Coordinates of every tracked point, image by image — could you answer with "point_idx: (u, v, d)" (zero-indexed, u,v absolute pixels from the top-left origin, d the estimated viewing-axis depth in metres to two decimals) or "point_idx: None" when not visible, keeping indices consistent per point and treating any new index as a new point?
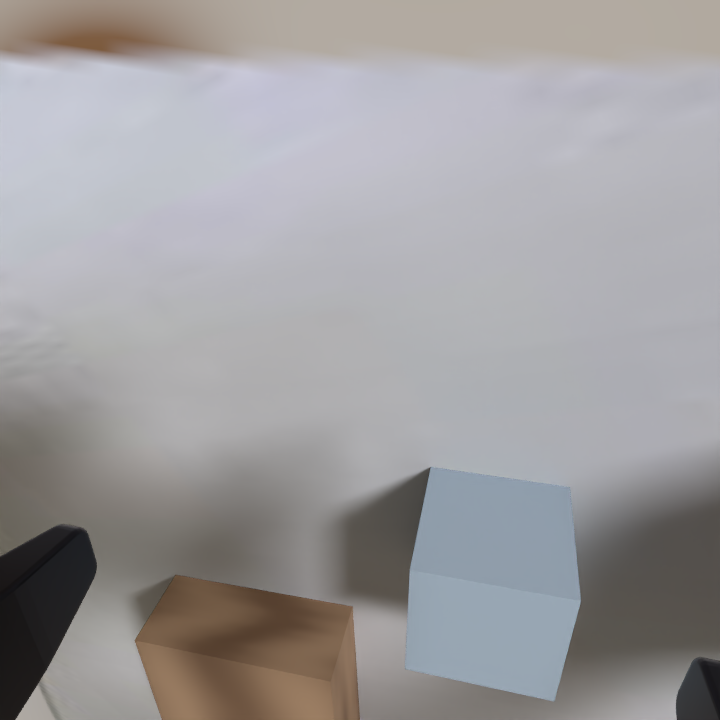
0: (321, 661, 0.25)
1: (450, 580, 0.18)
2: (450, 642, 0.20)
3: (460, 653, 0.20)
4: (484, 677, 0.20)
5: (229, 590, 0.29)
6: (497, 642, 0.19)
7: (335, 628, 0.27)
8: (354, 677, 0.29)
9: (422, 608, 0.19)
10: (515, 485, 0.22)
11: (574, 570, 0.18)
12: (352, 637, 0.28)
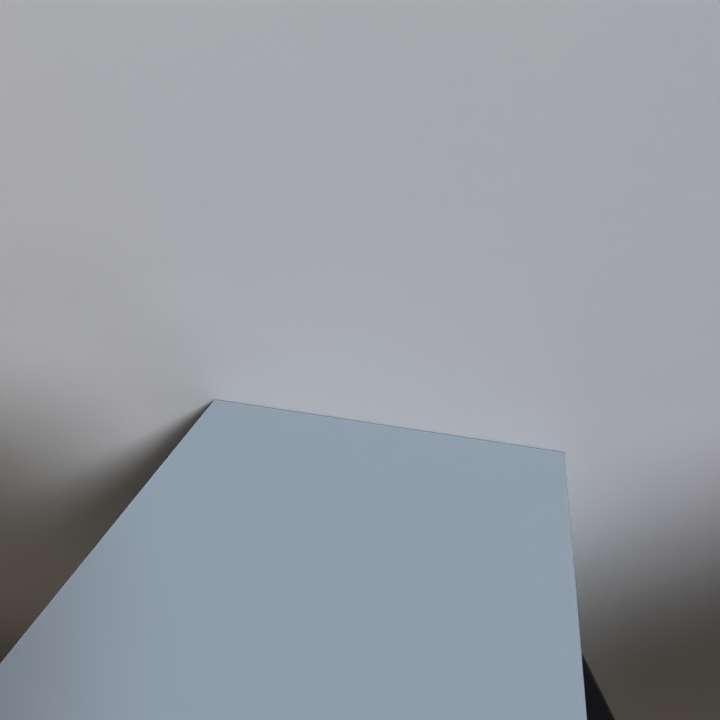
0: None
1: None
2: None
3: None
4: None
5: None
6: None
7: None
8: None
9: None
10: (416, 448, 0.08)
11: None
12: None
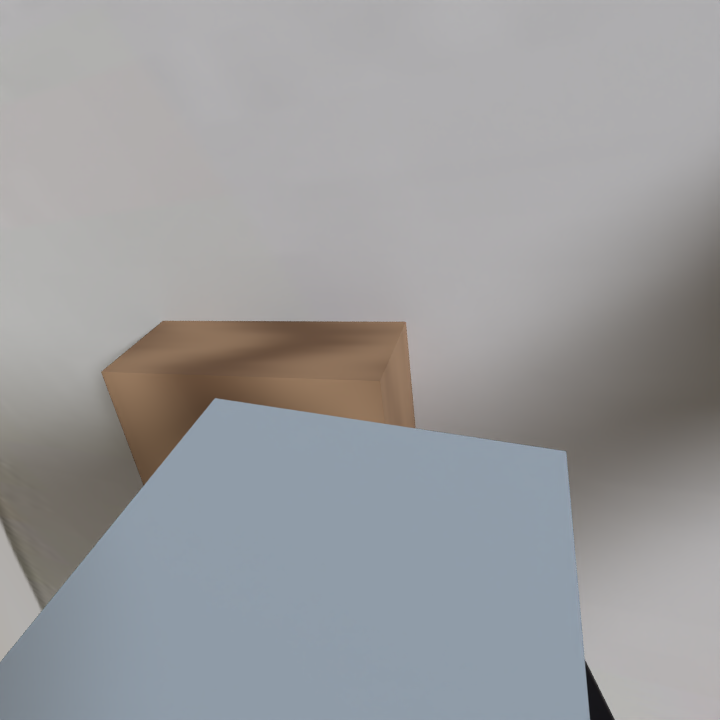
0: (365, 366, 0.17)
1: None
2: None
3: None
4: None
5: (233, 325, 0.21)
6: None
7: (383, 339, 0.18)
8: None
9: None
10: (417, 447, 0.08)
11: None
12: (408, 373, 0.20)
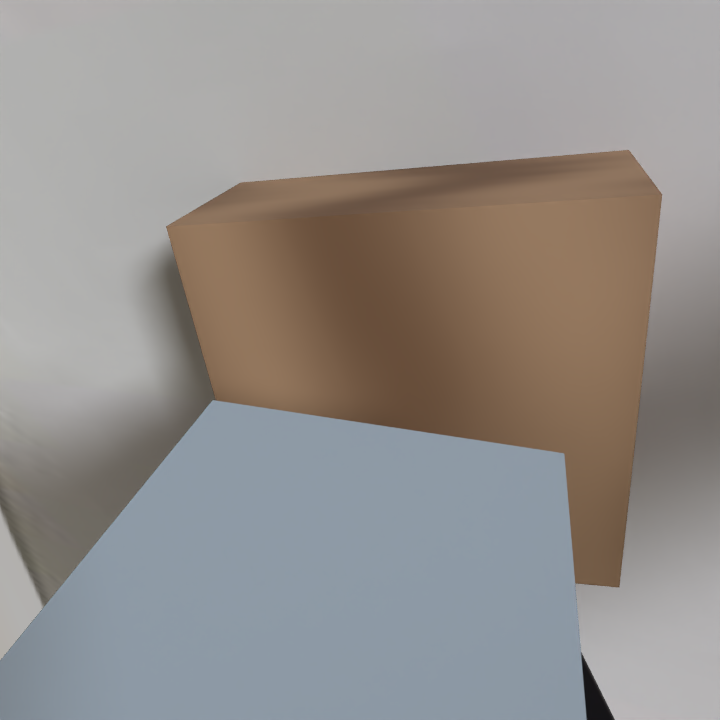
0: (614, 185, 0.10)
1: None
2: None
3: None
4: None
5: (353, 176, 0.14)
6: None
7: (612, 164, 0.12)
8: None
9: None
10: (415, 449, 0.08)
11: None
12: None
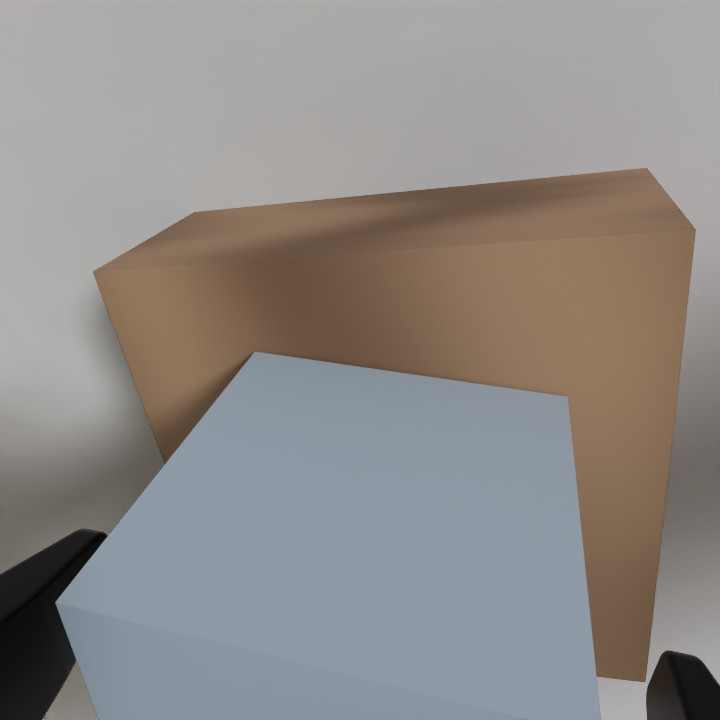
0: (632, 216, 0.08)
1: (175, 640, 0.06)
2: None
3: None
4: None
5: (321, 203, 0.12)
6: None
7: (627, 186, 0.10)
8: None
9: (128, 709, 0.06)
10: (437, 392, 0.09)
11: (579, 616, 0.06)
12: None
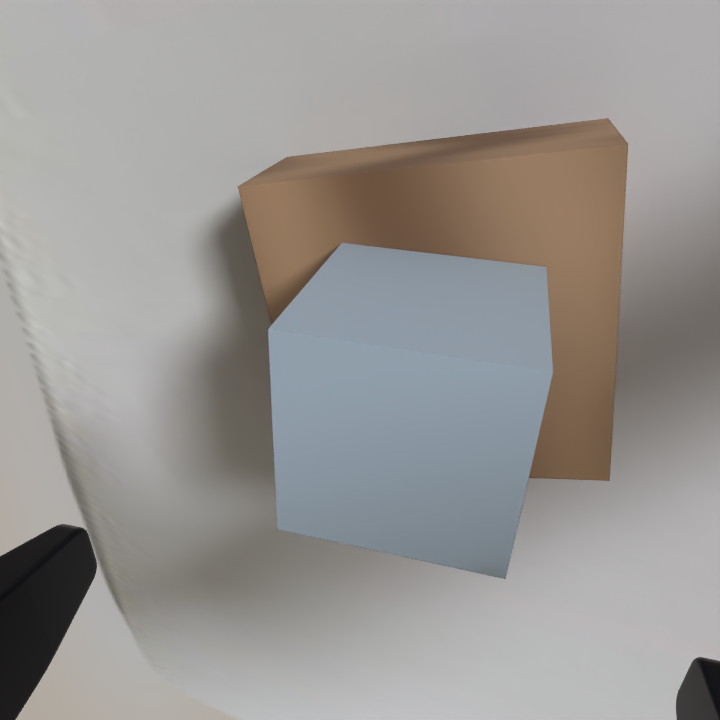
0: (592, 141, 0.13)
1: (334, 345, 0.11)
2: (341, 475, 0.12)
3: (358, 494, 0.12)
4: (396, 539, 0.13)
5: (382, 147, 0.17)
6: (415, 469, 0.12)
7: (593, 128, 0.15)
8: None
9: (293, 407, 0.12)
10: (463, 262, 0.14)
11: (545, 340, 0.11)
12: None
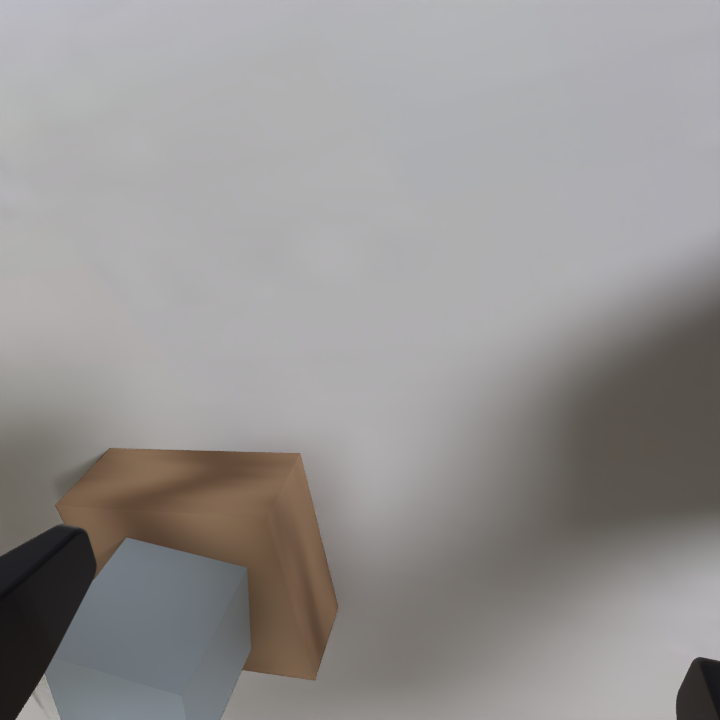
0: (258, 502, 0.22)
1: (73, 665, 0.19)
2: (94, 718, 0.20)
3: None
4: None
5: (166, 454, 0.25)
6: None
7: (278, 473, 0.23)
8: (319, 546, 0.26)
9: (60, 686, 0.20)
10: (195, 564, 0.22)
11: (195, 661, 0.19)
12: (306, 492, 0.24)
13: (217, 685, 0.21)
